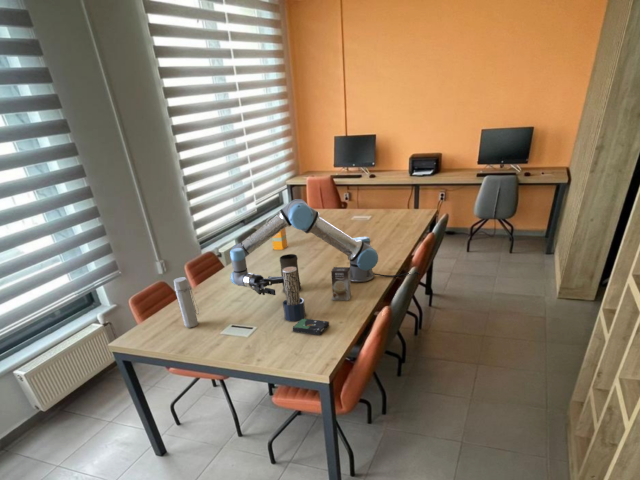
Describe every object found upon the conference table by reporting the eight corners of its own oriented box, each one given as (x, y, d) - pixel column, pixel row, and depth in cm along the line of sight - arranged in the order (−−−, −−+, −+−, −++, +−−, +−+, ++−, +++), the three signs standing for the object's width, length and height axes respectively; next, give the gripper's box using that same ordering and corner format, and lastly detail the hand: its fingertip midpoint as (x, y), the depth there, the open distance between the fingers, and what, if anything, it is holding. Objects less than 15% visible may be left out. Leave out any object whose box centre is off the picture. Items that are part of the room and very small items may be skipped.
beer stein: (299, 293, 256) (296, 257, 246) (281, 294, 259) (277, 258, 248) (304, 285, 269) (301, 250, 258) (286, 286, 271) (283, 252, 261)
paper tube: (288, 315, 234) (282, 267, 220) (301, 313, 234) (295, 265, 220) (289, 320, 229) (283, 272, 214) (302, 318, 229) (297, 270, 214)
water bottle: (187, 329, 235) (174, 283, 220) (183, 324, 240) (170, 279, 226) (203, 324, 237) (192, 278, 223) (199, 319, 243) (187, 274, 229)
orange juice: (273, 249, 332) (269, 221, 320) (278, 245, 338) (274, 217, 327) (283, 249, 329) (279, 221, 318) (287, 245, 336) (284, 217, 324)
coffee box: (332, 300, 243) (330, 271, 234) (335, 295, 248) (333, 266, 238) (348, 300, 240) (347, 271, 231) (351, 295, 245) (350, 266, 235)
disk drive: (329, 326, 218) (302, 322, 225) (329, 321, 216) (301, 317, 223) (320, 336, 211) (292, 332, 217) (319, 330, 209) (291, 326, 216)
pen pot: (307, 312, 234) (305, 297, 229) (303, 321, 226) (301, 305, 221) (287, 312, 237) (285, 297, 232) (283, 321, 229) (280, 305, 224)
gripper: (271, 280, 247) (300, 286, 235) (238, 296, 234) (268, 303, 221) (269, 266, 243) (299, 272, 231) (236, 282, 229) (265, 289, 217)
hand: (283, 287), depth 226 cm, fingers open, 13 cm apart
